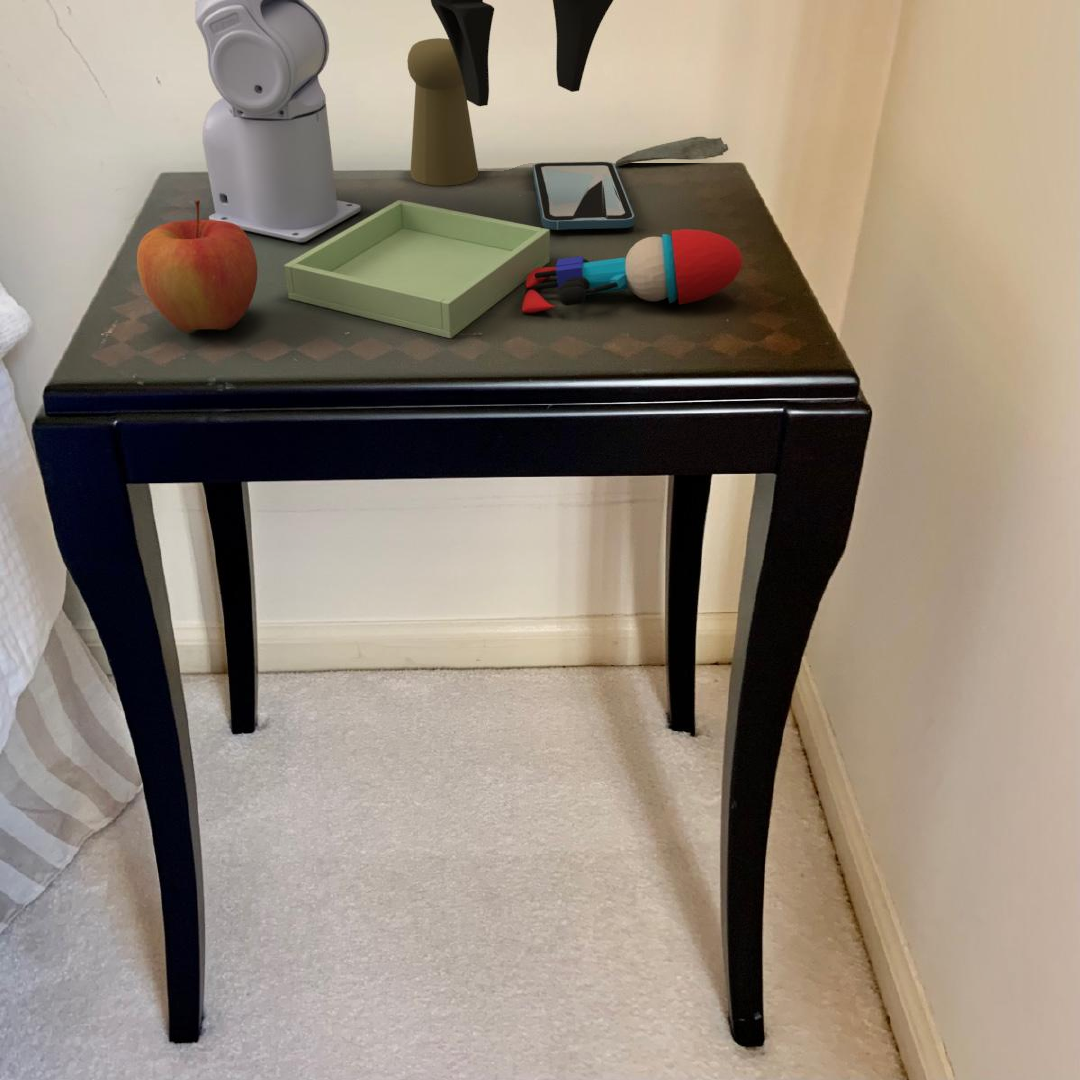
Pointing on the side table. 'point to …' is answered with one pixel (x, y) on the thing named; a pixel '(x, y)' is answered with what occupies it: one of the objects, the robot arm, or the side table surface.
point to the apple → (198, 272)
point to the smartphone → (581, 196)
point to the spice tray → (419, 267)
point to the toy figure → (645, 271)
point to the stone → (679, 150)
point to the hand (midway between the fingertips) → (523, 95)
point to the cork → (440, 117)
